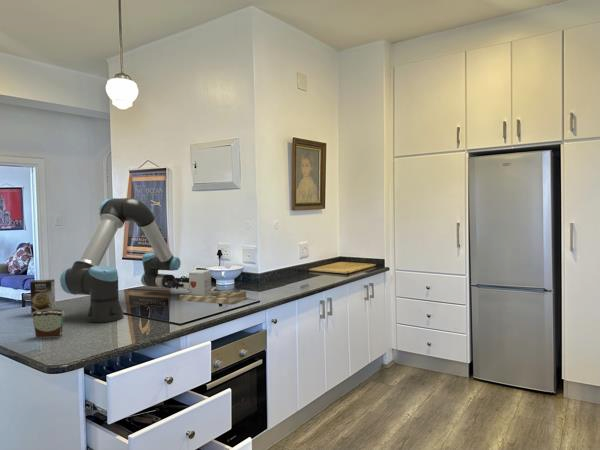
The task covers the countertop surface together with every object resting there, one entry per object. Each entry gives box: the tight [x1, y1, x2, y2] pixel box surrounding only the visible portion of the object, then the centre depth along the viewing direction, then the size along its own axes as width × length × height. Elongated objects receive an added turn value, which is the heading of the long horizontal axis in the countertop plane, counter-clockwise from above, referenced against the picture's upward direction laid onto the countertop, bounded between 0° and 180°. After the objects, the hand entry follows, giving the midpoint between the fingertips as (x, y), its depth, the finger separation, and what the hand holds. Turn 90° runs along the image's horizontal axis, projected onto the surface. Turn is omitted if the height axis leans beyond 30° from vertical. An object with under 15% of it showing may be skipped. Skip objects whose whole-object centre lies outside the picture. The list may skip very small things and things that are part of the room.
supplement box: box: [188, 269, 212, 297], centre depth 240 cm, size 9×9×15 cm
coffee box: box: [29, 279, 56, 315], centre depth 210 cm, size 9×6×16 cm
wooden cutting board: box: [179, 289, 247, 305], centre depth 239 cm, size 32×20×4 cm, turn 66°
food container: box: [30, 308, 66, 339], centre depth 175 cm, size 12×6×10 cm, turn 92°
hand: (197, 283), depth 241 cm, fingers open, 13 cm apart
